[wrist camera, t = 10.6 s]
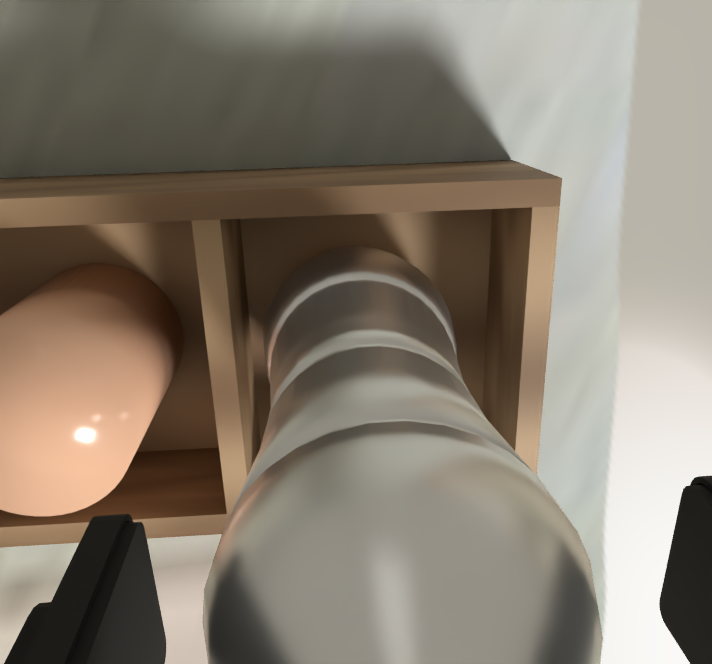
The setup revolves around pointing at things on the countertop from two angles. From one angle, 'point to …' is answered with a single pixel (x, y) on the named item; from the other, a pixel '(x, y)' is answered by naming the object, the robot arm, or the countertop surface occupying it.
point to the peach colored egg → (80, 385)
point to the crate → (259, 287)
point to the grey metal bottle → (388, 497)
